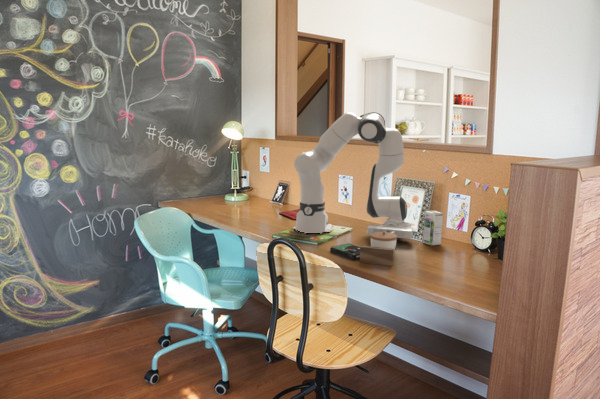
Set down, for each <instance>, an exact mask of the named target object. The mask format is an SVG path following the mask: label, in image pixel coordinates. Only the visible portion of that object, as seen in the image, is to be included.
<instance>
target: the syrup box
mask: <svg viewBox="0 0 600 399" xmlns="http://www.w3.org/2000/svg"><path fill="white" fill-rule="evenodd" d="M443 218H444V212H440V211H437V210H427V211H425V212H424V225H423V239H422V243H423V244H426V245H429V246H437V245H441V244H442V235H443V234H442V233H443V220H444V219H443Z"/></svg>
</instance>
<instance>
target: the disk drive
mask: <svg viewBox="0 0 600 399" xmlns="http://www.w3.org/2000/svg"><path fill="white" fill-rule="evenodd" d="M360 247H361V246H358V245H354V244H353V243H349V242H348V243H344V244H343V243H342V244H339V245H334V246H331V247H330V253H333V254H335V255H338V256H341V257H343V258H346V259H349V260H351V261H358V260H359V261H360Z"/></svg>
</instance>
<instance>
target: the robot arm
mask: <svg viewBox="0 0 600 399" xmlns="http://www.w3.org/2000/svg"><path fill="white" fill-rule="evenodd" d="M356 136H359V137H360V139H362V140H363V141H365V142H367V143H368V142H369V143H374V144H378V151H379V152H378V156H379V157H378V159H377V162H376V163H374V165H373V166H372V169H371V175H370V182H369V191H368V198H367V202H366V207H365V208H366V213H367V215H368V216H370V217H371V218H373V219H374V218H386V220H385V221H384V223H383V224H370V225H367V227H366V235H368V236H370V235H371V234H372V233H375V232H383V231H385V232H387V233H393V234H395V235H397V239H409V240H412V239H413V237H414V236H413V235H414V228H413V226H412V223H410V222H406V221H405V220H406V219H407V215H408V205H407V201H405V199H404V198H403V197H402V196H379V189H380V180H381V179H382V178H383V177H386V176H388V175H391V174H393V173H395V172H397V171H398V170H400V169H401V168H402V166H403V164H404V161H405V148H404V140H403V136H402V133H401V131H400V130H399V129H398V128H394V127H390V128H389V127H387V126H386V119H385V118H384V116H382V114H380V113H379V112H374V111H373V112H368V113H364V114H362V115H360V116H358V115H357V114H355V113H353V112H351V111H349V112H345V113H343V114H342V115H341V116H340V117H338V118H337V119H336V120H335V121H334V122H333V123H332V124H331V125H330V126H329V127H328V128H327V130H325V132H324V133H323V134H321V136H320V137H319V140H318V142H317V143H316V145H315V146H314V148H313V149H311V150H310V151H304V152H302V153H300V154H298V155H297V156H296V158H294V164H293V165H294V168H295V169H294V170H296V172H297V174H298V179H299V184H300V202H299V205H298V206H299V209H300V211H299V212H298V213H297V218H296V220H295V226H293V227H292V229H293V230H294V229H296V230H295V231H297V230H298V231H300V232H307V233H320V234H323V233H322V232H330V230H331V231H332V228H333V224H331V223H329V222H328V221H329V214H327V212H326V211H325V210H326V208H325V206H326V202H325V201H324V196H325V195H324V194H325V192H324V190H325V188H324V187H325V186H324V184H323V182H322V178H321V173H323V172H325V171H326V170H327V169H329V167H330V165H331V163H332V162H333V160H335V158H336V157H337V155H338V153H340V152H341V150H342V149H343V148H344V147H345V146H346V145H347V144H348V143H349V142H350V141H351V140H352V139H353V138H354V137H356ZM298 231H297V232H298ZM300 232H299V233H300ZM330 233H331V232H330Z"/></svg>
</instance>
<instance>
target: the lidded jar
mask: <svg viewBox="0 0 600 399" xmlns="http://www.w3.org/2000/svg"><path fill="white" fill-rule="evenodd" d="M369 237H370V246H372V247H382V248H392V249H394V250H395V249H396V246H397V242H398V241H397V240H398V238H397V235H395V234H393V233H387V232H385V231H383V232H375V233H372V234H371V235H369Z"/></svg>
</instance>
